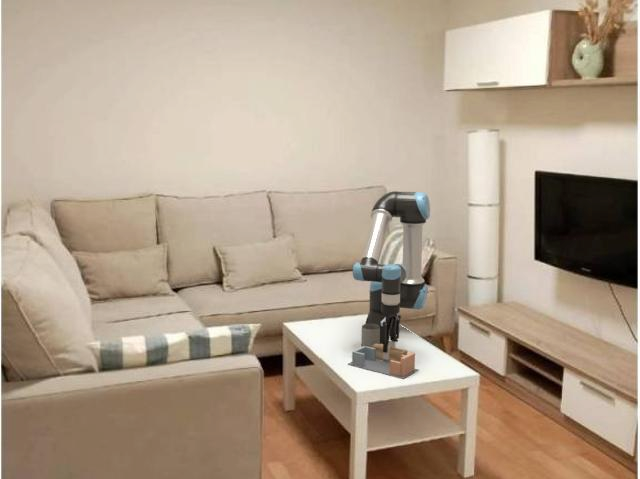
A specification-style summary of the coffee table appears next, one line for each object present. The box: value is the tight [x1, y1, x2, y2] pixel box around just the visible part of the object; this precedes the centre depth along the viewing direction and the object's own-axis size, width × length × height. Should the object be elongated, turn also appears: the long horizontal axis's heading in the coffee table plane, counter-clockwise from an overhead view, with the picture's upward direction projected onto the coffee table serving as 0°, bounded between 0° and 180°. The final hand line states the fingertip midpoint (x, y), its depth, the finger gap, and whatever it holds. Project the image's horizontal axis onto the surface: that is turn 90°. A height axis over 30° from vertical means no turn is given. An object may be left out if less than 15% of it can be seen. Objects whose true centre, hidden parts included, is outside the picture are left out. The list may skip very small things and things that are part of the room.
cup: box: [360, 323, 380, 348], centre depth 317 cm, size 8×8×10 cm
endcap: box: [390, 352, 416, 376], centre depth 290 cm, size 9×6×7 cm, turn 143°
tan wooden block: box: [371, 344, 408, 362], centre depth 305 cm, size 4×15×5 cm, turn 54°
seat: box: [347, 346, 420, 380], centre depth 295 cm, size 12×26×5 cm, turn 53°
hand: (388, 357), depth 305 cm, fingers closed on tan wooden block, 4 cm apart
